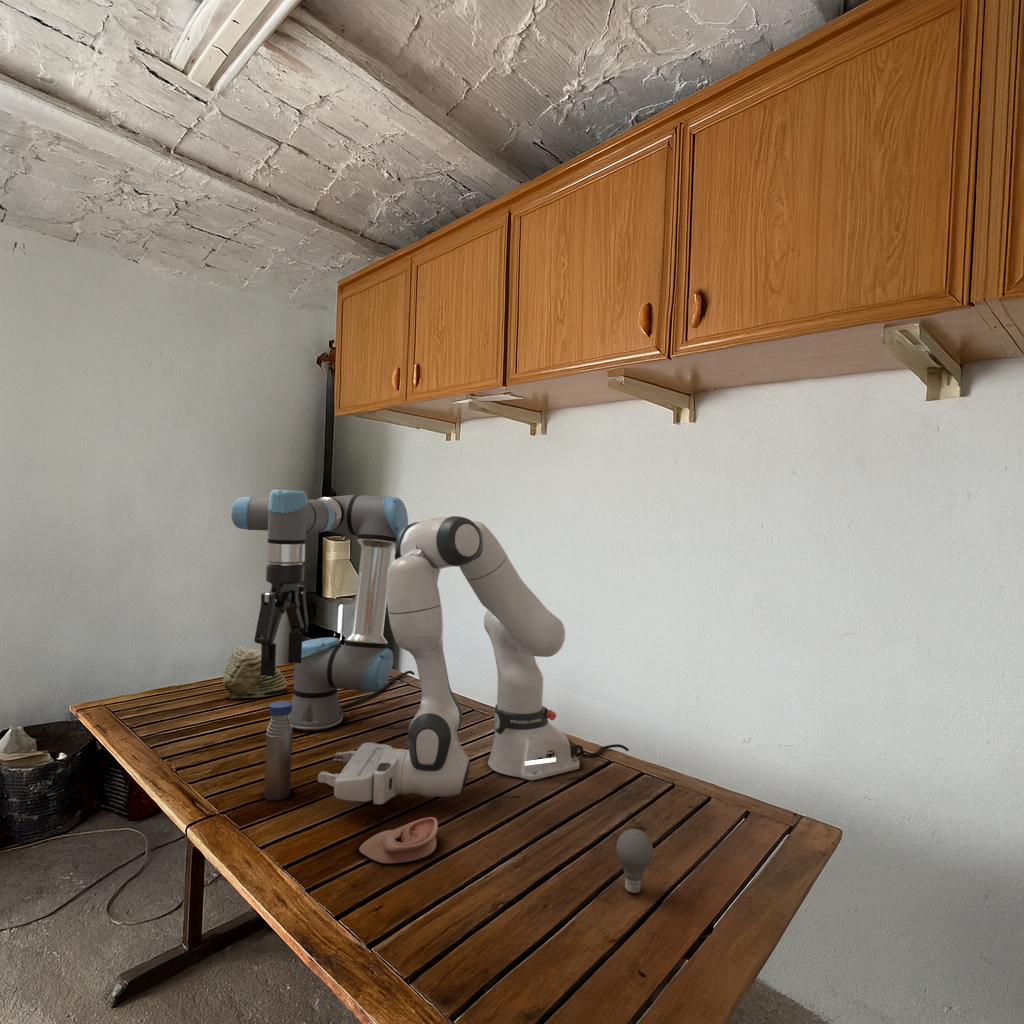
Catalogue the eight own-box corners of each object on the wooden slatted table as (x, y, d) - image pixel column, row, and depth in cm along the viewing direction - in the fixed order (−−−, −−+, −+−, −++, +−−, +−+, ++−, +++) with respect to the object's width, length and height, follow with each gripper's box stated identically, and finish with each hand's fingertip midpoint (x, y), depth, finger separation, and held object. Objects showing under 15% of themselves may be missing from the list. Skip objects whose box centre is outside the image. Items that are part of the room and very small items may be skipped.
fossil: (218, 695, 195) (220, 647, 195) (278, 685, 208) (279, 640, 207) (228, 703, 189) (230, 653, 188) (289, 692, 201) (290, 645, 201)
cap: (296, 711, 135) (296, 702, 135) (281, 717, 131) (281, 709, 131) (279, 707, 136) (279, 699, 136) (264, 714, 132) (264, 705, 132)
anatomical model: (352, 836, 111) (378, 805, 123) (351, 858, 111) (377, 826, 123) (423, 847, 109) (444, 815, 120) (422, 870, 109) (443, 836, 120)
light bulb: (610, 879, 108) (613, 822, 108) (644, 879, 109) (647, 822, 109) (619, 902, 102) (622, 840, 102) (655, 901, 103) (658, 840, 103)
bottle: (295, 792, 135) (298, 704, 135) (278, 802, 131) (282, 711, 130) (275, 787, 137) (279, 700, 137) (258, 797, 132) (261, 707, 132)
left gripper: (296, 557, 145) (292, 654, 145) (237, 567, 123) (233, 681, 123) (327, 559, 143) (323, 657, 144) (272, 569, 121) (268, 685, 122)
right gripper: (403, 737, 143) (343, 733, 143) (380, 776, 122) (309, 772, 123) (402, 765, 143) (342, 761, 144) (378, 809, 122) (308, 804, 123)
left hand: (281, 668), depth 133 cm, fingers open, 10 cm apart
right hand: (326, 766), depth 133 cm, fingers open, 8 cm apart
